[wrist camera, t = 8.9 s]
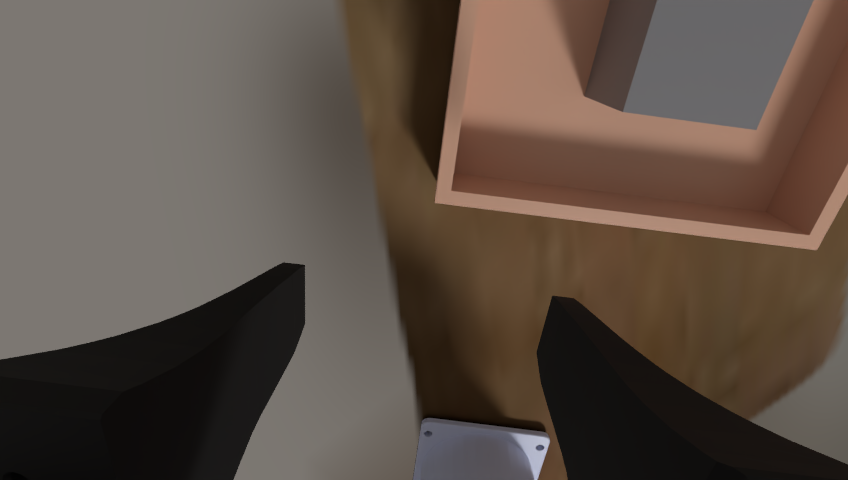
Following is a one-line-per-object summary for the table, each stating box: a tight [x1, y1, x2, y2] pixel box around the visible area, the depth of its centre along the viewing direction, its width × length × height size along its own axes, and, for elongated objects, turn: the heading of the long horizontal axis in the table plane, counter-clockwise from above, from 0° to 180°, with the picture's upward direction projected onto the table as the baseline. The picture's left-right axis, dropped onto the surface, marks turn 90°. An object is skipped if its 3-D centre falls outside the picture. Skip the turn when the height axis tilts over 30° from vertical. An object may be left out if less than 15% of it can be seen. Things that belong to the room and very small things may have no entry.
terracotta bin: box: [435, 0, 848, 250], centre depth 16 cm, size 14×16×3 cm
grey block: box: [584, 0, 814, 130], centre depth 15 cm, size 4×4×4 cm
